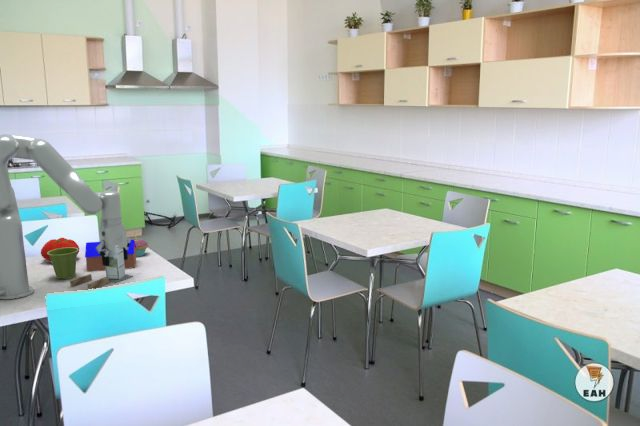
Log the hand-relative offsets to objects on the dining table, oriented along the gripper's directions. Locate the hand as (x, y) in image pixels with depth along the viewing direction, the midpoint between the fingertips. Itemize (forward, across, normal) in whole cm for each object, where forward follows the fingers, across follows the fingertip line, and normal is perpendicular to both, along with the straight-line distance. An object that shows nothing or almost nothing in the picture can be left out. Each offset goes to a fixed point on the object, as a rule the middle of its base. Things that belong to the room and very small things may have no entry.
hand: (115, 262), depth 225 cm
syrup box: (+7, 0, 0) cm, 7 cm away
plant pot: (+7, -8, +21) cm, 24 cm away
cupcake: (+7, +30, +18) cm, 36 cm away
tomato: (+7, +8, +44) cm, 45 cm away
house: (+7, +12, +16) cm, 21 cm away
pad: (+7, 0, 0) cm, 7 cm away
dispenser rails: (+7, -11, +3) cm, 13 cm away
